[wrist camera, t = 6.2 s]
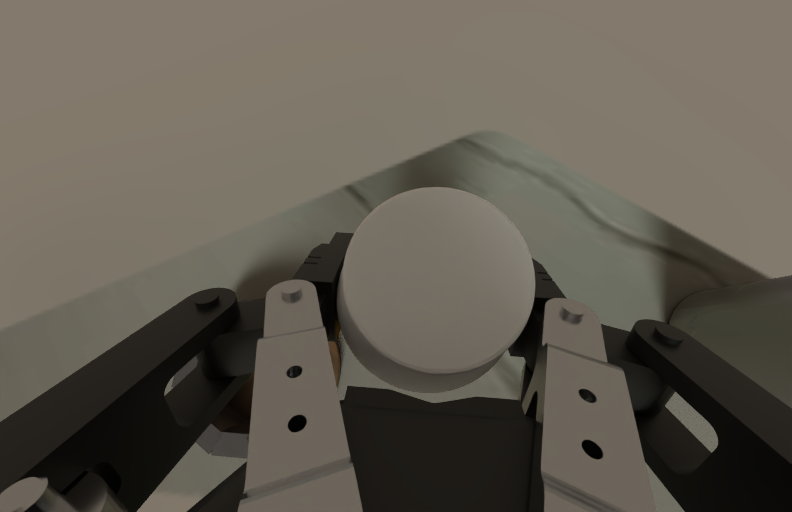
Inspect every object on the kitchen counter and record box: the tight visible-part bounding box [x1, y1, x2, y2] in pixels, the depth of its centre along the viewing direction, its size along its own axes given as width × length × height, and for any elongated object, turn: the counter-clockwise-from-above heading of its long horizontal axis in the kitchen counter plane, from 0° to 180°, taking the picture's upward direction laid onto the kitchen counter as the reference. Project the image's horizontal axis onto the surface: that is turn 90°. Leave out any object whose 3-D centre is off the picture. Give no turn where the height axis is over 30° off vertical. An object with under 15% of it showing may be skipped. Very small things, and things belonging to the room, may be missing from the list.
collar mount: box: [171, 300, 341, 458], centre depth 20 cm, size 10×10×4 cm
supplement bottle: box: [337, 187, 535, 393], centre depth 11 cm, size 5×5×10 cm
